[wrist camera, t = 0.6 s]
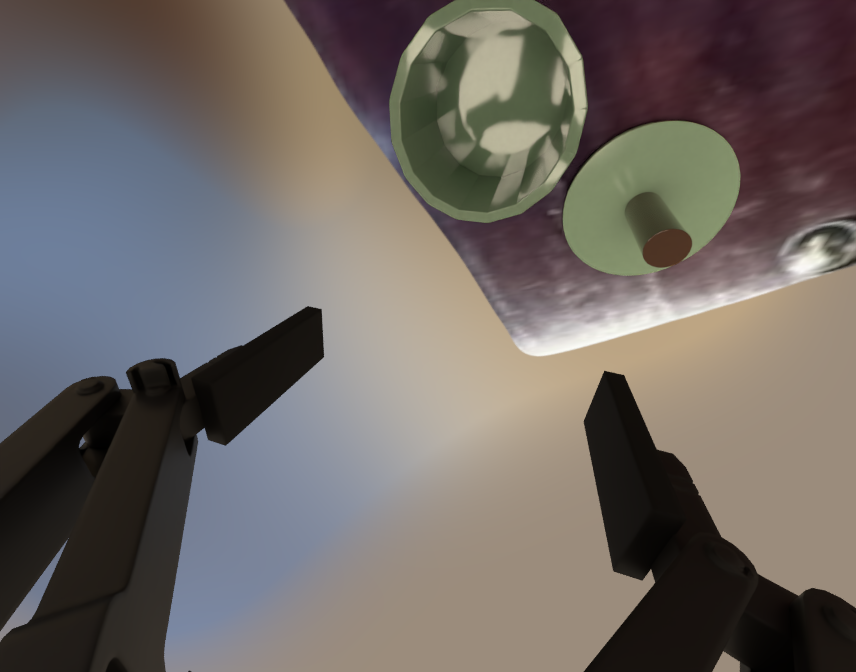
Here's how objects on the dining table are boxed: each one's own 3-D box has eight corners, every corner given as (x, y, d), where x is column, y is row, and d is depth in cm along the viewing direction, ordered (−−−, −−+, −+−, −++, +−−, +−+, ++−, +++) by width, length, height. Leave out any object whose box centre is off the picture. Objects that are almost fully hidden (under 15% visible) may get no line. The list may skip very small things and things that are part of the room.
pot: (516, -43, 24) (499, -87, 16) (607, 111, 28) (628, 134, 20) (403, 103, 32) (355, 120, 24) (487, 208, 36) (469, 252, 28)
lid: (693, 74, 25) (748, 83, 18) (760, 215, 30) (826, 267, 23) (534, 194, 34) (530, 233, 26) (605, 292, 38) (618, 348, 31)
